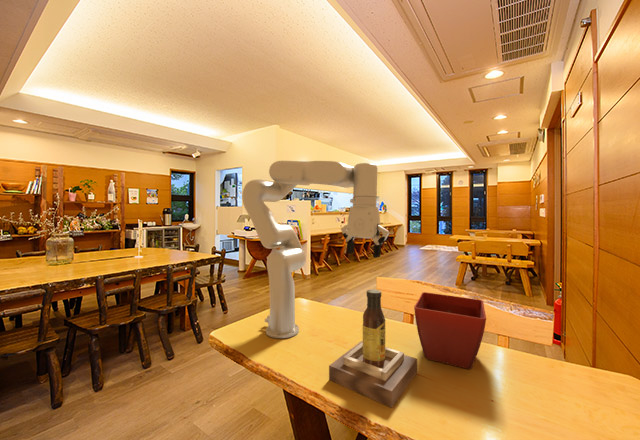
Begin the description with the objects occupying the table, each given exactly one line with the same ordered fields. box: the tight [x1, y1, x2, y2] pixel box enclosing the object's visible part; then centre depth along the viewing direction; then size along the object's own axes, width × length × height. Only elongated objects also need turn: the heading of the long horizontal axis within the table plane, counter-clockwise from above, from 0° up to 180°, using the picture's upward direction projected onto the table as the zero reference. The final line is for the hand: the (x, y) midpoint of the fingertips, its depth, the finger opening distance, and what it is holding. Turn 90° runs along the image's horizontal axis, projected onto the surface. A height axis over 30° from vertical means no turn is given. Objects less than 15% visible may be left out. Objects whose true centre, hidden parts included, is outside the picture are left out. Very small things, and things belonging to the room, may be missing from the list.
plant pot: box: [413, 291, 487, 370], centre depth 89 cm, size 19×19×17 cm
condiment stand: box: [328, 340, 418, 409], centre depth 78 cm, size 18×18×6 cm
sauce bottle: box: [362, 289, 386, 367], centre depth 77 cm, size 6×6×20 cm
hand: (363, 255), depth 90 cm, fingers open, 9 cm apart
